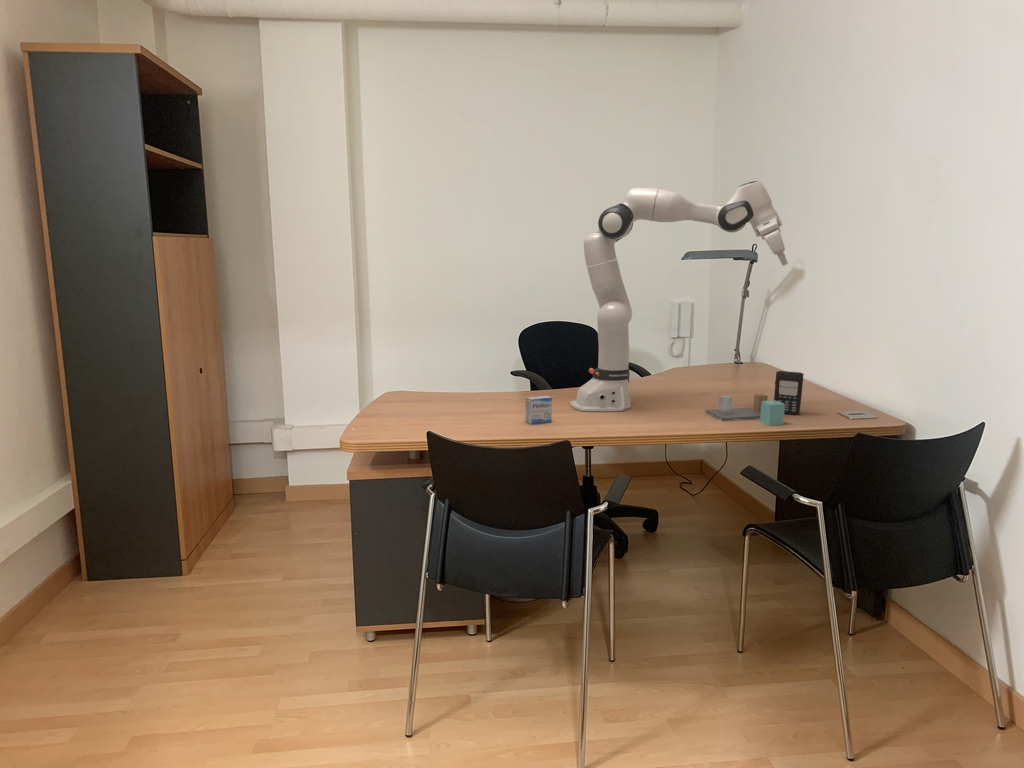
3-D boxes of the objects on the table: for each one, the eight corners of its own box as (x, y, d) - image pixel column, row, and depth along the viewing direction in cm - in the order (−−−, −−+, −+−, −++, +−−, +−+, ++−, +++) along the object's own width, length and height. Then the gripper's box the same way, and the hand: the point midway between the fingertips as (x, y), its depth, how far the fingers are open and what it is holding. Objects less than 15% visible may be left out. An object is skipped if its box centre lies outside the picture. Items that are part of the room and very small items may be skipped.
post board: (722, 420, 247) (723, 400, 245) (705, 412, 258) (706, 393, 256) (779, 417, 252) (781, 398, 250) (760, 409, 263) (761, 390, 262)
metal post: (722, 414, 251) (723, 397, 250) (717, 412, 254) (718, 395, 253) (730, 414, 252) (731, 397, 251) (725, 411, 255) (727, 395, 254)
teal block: (768, 425, 241) (770, 404, 240) (759, 421, 246) (761, 401, 245) (783, 424, 242) (784, 404, 241) (773, 420, 247) (775, 400, 246)
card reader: (772, 413, 258) (775, 372, 255) (773, 410, 261) (776, 370, 258) (799, 415, 254) (803, 374, 251) (800, 413, 258) (803, 372, 255)
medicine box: (530, 424, 240) (531, 399, 238) (525, 421, 244) (525, 396, 242) (551, 422, 243) (552, 397, 242) (546, 419, 247) (546, 394, 246)
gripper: (758, 230, 252) (774, 266, 253) (758, 231, 233) (776, 270, 234) (776, 221, 249) (792, 257, 250) (777, 222, 230) (795, 261, 231)
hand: (784, 263), depth 242 cm, fingers open, 8 cm apart
